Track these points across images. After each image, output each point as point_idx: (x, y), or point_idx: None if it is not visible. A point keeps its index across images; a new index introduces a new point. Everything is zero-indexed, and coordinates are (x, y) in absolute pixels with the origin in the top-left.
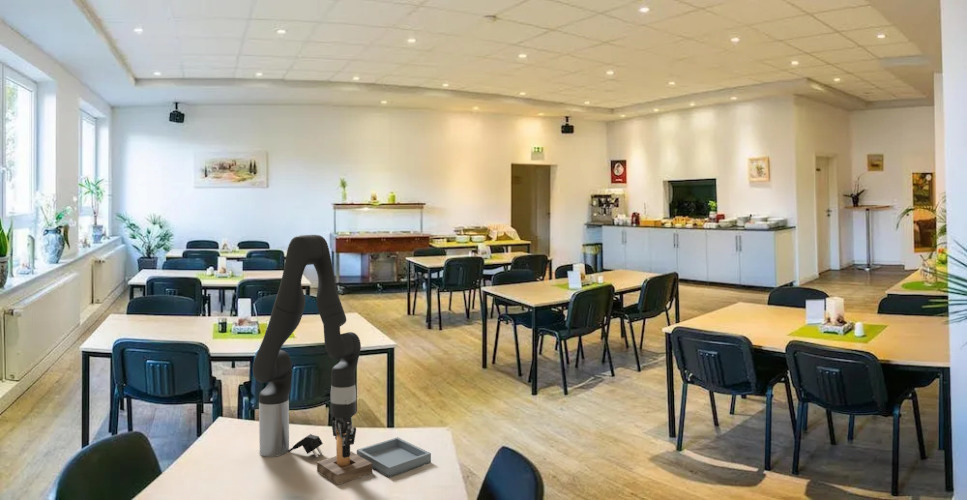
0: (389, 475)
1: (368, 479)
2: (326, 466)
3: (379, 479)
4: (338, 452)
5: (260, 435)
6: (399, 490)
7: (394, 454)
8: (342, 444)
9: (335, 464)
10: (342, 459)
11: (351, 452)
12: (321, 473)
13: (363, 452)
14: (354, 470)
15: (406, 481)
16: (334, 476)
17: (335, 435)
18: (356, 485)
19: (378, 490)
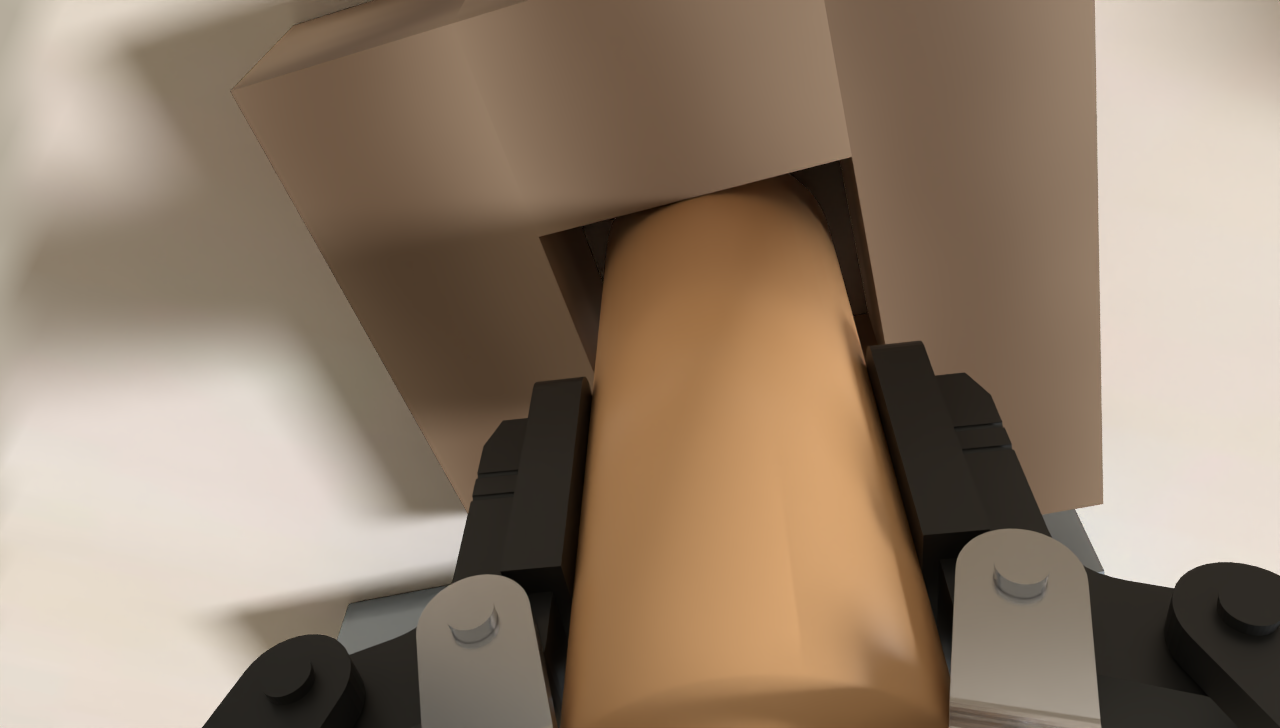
0: (343, 625)
1: (363, 433)
2: None
3: (327, 523)
4: (658, 365)
5: None
6: (5, 598)
7: None
8: (488, 596)
9: (727, 173)
10: (603, 336)
11: (1059, 496)
12: None
13: None
14: (406, 377)
15: (212, 686)
16: (348, 38)
17: (1086, 631)
18: (215, 272)
19: (24, 447)
